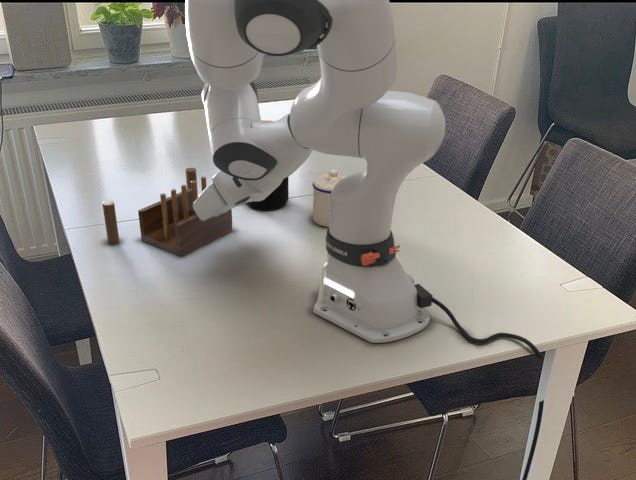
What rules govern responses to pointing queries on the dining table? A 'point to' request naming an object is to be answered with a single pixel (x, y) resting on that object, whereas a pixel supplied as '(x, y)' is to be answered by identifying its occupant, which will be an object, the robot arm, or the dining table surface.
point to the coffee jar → (272, 195)
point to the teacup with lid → (323, 196)
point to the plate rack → (181, 222)
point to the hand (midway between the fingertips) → (217, 212)
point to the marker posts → (111, 214)
